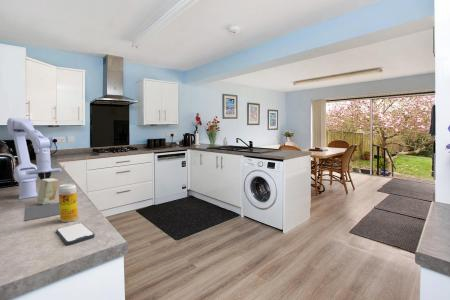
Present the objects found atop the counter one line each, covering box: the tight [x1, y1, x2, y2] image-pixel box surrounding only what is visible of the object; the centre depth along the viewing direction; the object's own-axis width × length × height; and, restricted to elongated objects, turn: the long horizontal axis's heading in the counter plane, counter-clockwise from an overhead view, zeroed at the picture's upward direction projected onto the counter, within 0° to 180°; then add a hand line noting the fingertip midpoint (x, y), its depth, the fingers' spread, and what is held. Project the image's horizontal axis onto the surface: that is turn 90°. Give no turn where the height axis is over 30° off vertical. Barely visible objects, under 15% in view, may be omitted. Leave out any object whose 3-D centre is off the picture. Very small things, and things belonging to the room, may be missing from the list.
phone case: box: [55, 222, 96, 246], centre depth 84 cm, size 9×2×16 cm
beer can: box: [57, 183, 79, 223], centre depth 97 cm, size 6×6×15 cm
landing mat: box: [24, 202, 60, 222], centre depth 109 cm, size 20×15×1 cm
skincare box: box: [36, 177, 60, 205], centre depth 118 cm, size 6×4×12 cm
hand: (45, 187), depth 121 cm, fingers closed
